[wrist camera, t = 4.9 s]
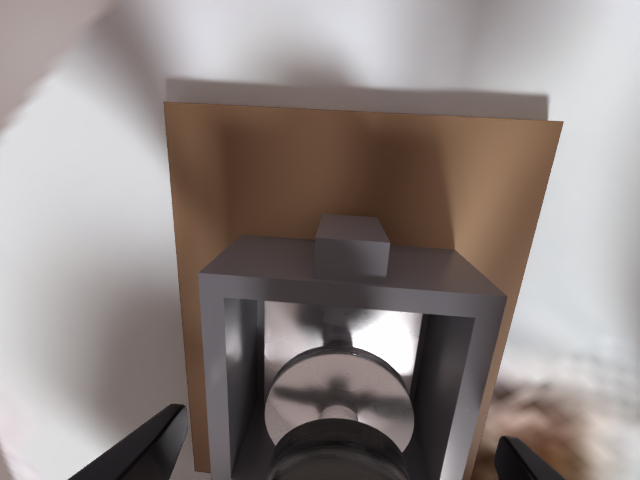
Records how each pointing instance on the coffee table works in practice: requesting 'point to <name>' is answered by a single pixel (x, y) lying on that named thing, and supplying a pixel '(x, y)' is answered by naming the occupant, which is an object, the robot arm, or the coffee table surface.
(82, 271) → the coffee table surface
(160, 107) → the coffee table surface
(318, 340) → the plunger
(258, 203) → the board
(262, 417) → the press
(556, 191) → the coffee table surface
